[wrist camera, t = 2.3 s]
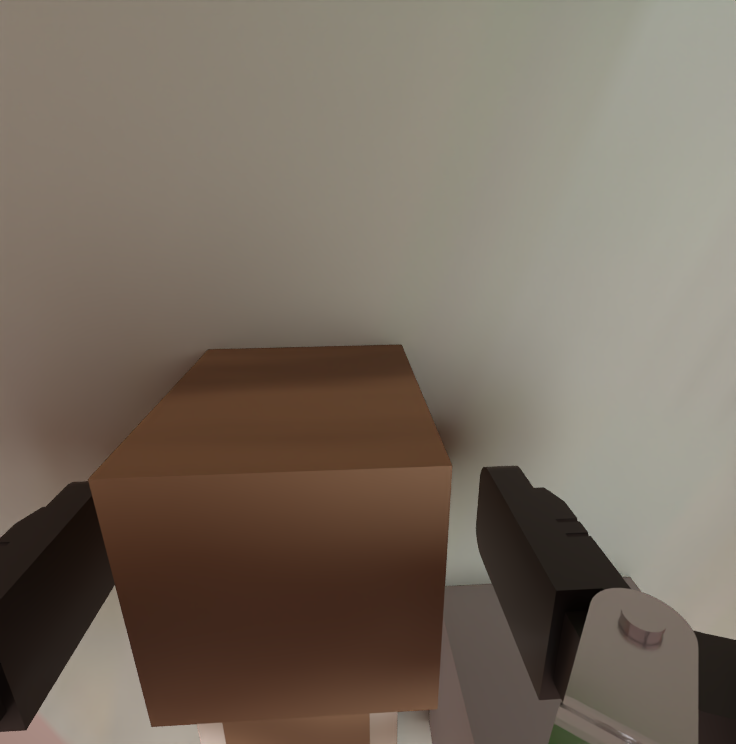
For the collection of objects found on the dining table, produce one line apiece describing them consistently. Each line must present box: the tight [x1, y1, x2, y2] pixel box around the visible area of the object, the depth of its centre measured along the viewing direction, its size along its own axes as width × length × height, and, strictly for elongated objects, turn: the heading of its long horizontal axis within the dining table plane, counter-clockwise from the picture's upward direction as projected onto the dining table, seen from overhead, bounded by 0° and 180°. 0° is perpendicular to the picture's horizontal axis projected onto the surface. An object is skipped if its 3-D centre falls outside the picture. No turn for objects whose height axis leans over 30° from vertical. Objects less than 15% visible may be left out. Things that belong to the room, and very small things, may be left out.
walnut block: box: [88, 345, 452, 727], centre depth 10 cm, size 5×5×6 cm
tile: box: [197, 712, 397, 744], centre depth 16 cm, size 7×7×1 cm
